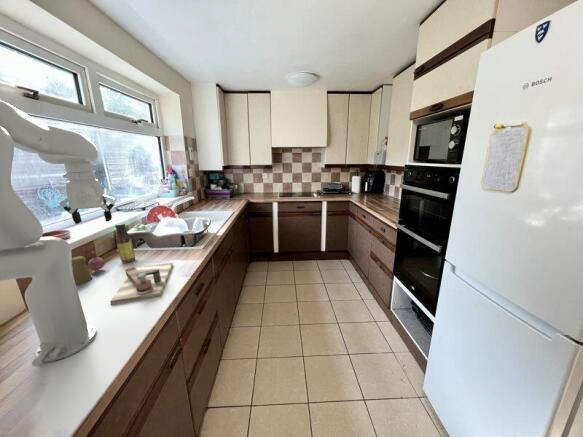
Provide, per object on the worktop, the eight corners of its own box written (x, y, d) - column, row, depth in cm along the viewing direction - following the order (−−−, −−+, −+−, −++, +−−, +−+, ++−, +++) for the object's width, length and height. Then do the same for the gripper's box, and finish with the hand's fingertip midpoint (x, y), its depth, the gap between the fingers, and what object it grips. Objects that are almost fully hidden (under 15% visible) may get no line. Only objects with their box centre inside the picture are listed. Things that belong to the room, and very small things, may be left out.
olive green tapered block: (81, 284, 98) (74, 260, 96) (70, 283, 100) (63, 259, 97) (95, 277, 104) (89, 254, 101) (84, 276, 105) (78, 254, 102)
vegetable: (105, 266, 115) (100, 247, 112) (107, 270, 111) (102, 251, 108) (89, 271, 111) (84, 251, 108) (90, 275, 106) (85, 255, 104)
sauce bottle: (138, 260, 122) (130, 223, 117) (124, 264, 117) (116, 226, 112) (131, 257, 125) (124, 221, 120) (118, 261, 120) (110, 224, 115)
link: (153, 287, 90) (151, 274, 89) (139, 293, 87) (136, 279, 85) (136, 271, 105) (134, 259, 103) (123, 275, 101) (120, 263, 100)
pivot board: (160, 296, 89) (157, 281, 87) (110, 304, 84) (107, 289, 83) (172, 265, 115) (170, 253, 113) (135, 270, 110) (132, 258, 108)
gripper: (45, 179, 79) (60, 227, 84) (105, 177, 84) (116, 222, 89) (58, 176, 86) (71, 221, 91) (114, 174, 90) (123, 217, 96)
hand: (94, 221), depth 90 cm, fingers open, 9 cm apart
